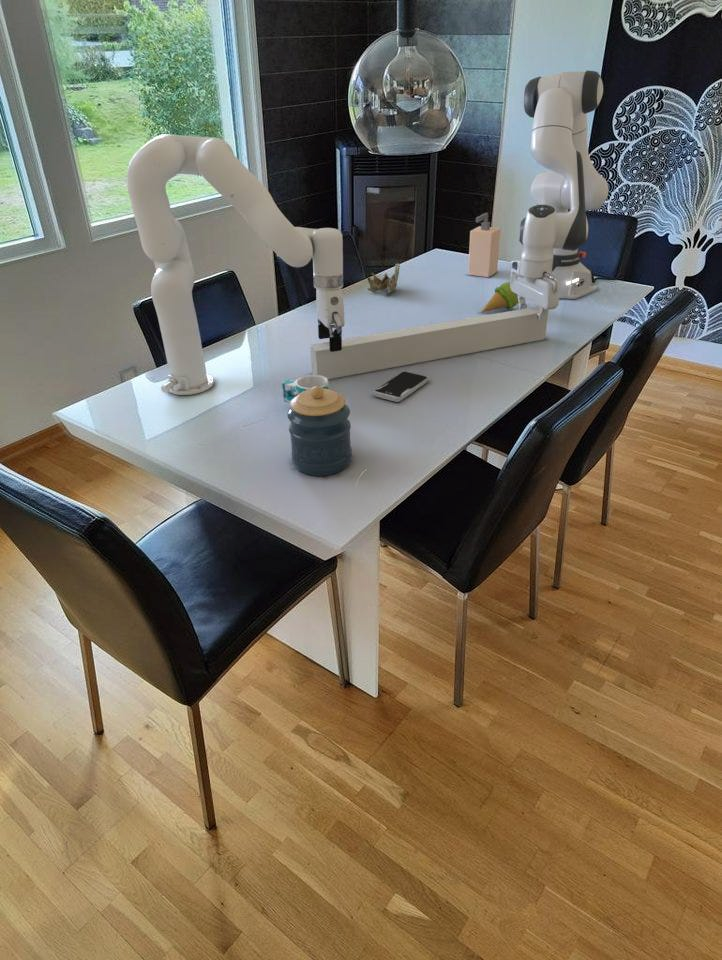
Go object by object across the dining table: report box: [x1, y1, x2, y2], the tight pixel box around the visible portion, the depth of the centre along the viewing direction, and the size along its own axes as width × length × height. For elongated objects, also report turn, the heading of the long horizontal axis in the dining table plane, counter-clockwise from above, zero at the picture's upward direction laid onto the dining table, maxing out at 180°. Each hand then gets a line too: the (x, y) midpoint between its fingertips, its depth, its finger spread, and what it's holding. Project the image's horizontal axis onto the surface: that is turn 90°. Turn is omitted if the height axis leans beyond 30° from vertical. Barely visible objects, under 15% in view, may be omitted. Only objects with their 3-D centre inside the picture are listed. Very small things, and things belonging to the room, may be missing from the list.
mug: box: [281, 374, 330, 404], centre depth 164 cm, size 8×12×8 cm
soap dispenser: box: [467, 212, 501, 278], centre depth 252 cm, size 13×9×22 cm
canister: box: [287, 386, 353, 476], centre depth 141 cm, size 13×13×18 cm
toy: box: [481, 281, 519, 313], centre depth 221 cm, size 9×9×15 cm
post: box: [309, 305, 549, 380], centre depth 190 cm, size 71×5×9 cm, turn 110°
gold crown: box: [367, 263, 401, 296], centre depth 243 cm, size 9×15×10 cm
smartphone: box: [373, 371, 428, 403], centre depth 174 cm, size 8×1×15 cm
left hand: (329, 344), depth 179 cm, fingers open, 9 cm apart
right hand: (531, 315), depth 197 cm, fingers open, 8 cm apart
